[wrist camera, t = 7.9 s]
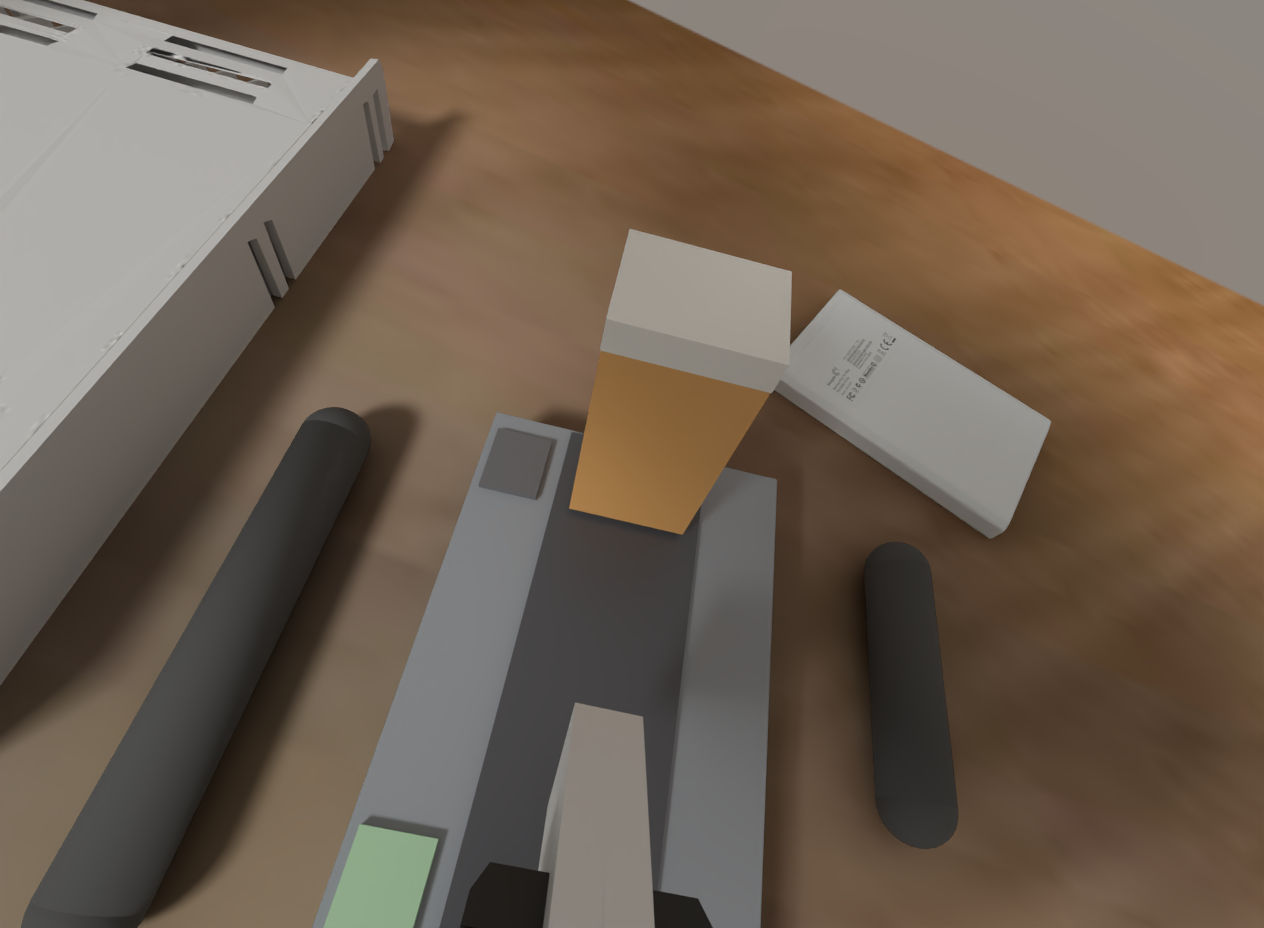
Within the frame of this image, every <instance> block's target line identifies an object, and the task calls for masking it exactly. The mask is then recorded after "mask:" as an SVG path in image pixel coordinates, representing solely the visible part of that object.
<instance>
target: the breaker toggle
mask: <svg viewBox="0 0 1264 928" xmlns="http://www.w3.org/2000/svg"><path fill="white" fill-rule="evenodd" d="M791 287H792V271H788V270H784V269H780V268H776V267H773V266H769V265H765V264H761V263H758V262H754V261H750V260H746V259H742V258H739V257H735V256H731V255H727V254H724V253H720V252H716V251H712V250H708V249H705V248H701V247H697V246H693V245H690V244H686V243H682V242H678V241H674V240H671V239H667V238H663V237H659V236H656V235H652V234H648V233H644V232H640V231H637V230H633V229H630V230H629V233H628V237H627V241H626V245H625V249H624V253H623V256H622V260H621V264H620V268H619V272H618V276H617V279H616V283H615V287H614V291H613V295H612V298H611V302H610V306H609V310H608V314H607V318H606V322H605V327H604V332H603V337H602V342H601V347H600V351H601V352H600V357H599V362H598V367H597V372H596V377H595V382H594V387H593V392H592V397H591V402H590V407H589V412H588V417H587V422H586V427H585V432H584V437H583V442H582V447H581V452H580V457H579V462H578V466H577V471H576V476H575V481H574V486H573V491H572V496H571V501H570V506H569V509H573V510H578V511H582V512H586V513H591V514H595V515H599V516H604V517H608V518H612V519H617V520H621V521H625V522H630V523H634V524H638V525H643V526H647V527H651V528H656V529H660V530H664V531H669V532H673V533H677V534H682V535H683V533H684V532H685V530H686V528H687V527H688V525H689V524H690V522H691V520H692V519H693V517H694V516H695V514H696V512H697V511H698V509H699V507H700V506H701V504H702V503H703V501H704V499H705V498H706V496H707V495H708V493H709V491H710V490H711V488H712V487H713V485H714V483H715V482H716V480H717V478H718V477H719V475H720V474H721V472H722V470H723V469H724V467H725V466H726V464H727V462H728V461H729V459H730V458H731V456H732V454H733V453H734V451H735V450H736V448H737V446H738V445H739V443H740V441H741V440H742V438H743V437H744V435H745V433H746V432H747V430H748V429H749V427H750V425H751V424H752V422H753V421H754V419H755V417H756V416H757V414H758V413H759V411H760V409H761V408H762V406H763V404H764V403H765V401H766V400H767V398H768V396H769V395H770V393H772V392H773V391H774V389H775V387H776V386H777V384H778V383H779V381H780V379H781V378H782V376H783V375H784V373H785V371H786V370H787V368H788V367H789V358H790V323H791Z"/></svg>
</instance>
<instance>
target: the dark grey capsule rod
mask: <svg viewBox="0 0 1264 928" xmlns="http://www.w3.org/2000/svg"><path fill="white" fill-rule="evenodd" d="M864 577H865V597H866V617H867V637H868V658H869V678H870V698H871V718H872V739H873V759H874V779H875V799H876V805H877V810H878V813H879V816H880V818H881V819H882V821H883V823H884V825H885V826H886V827H887V829H888V830H889V831H890V832H891V833H892V834H893V835H894V836H895V837H896V838H898V839H899V840H900V841H902V842H903V843H905V844H908V845H910V846H912V847H916V848H922V849H930V848H936V847H938V846H940V845H943V844H944V843H945V842H947V841H948V840H949V839H950V838H951V836H952V835H953V834H954V831H955V829H956V827H957V822H958V805H957V796H956V788H955V779H954V770H953V761H952V752H951V743H950V735H949V726H948V717H947V708H946V699H945V691H944V682H943V673H942V664H941V655H940V646H939V638H938V629H937V620H936V611H935V602H934V594H933V585H932V576H931V570H930V566H929V563H928V561H927V559H926V558H925V557H924V555H923V554H922V553H921V552H920V551H919V550H917V549H916V548H915V547H913V546H911V545H908V544H905V543H900V542H891V543H886V544H883V545H881V546H879V547H877V548H875V549H874V550H873V551H872V552H871V553H870V555H869V556H868V558H867V560H866V563H865V570H864Z"/></svg>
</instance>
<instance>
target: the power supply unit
mask: <svg viewBox="0 0 1264 928" xmlns="http://www.w3.org/2000/svg"><path fill="white" fill-rule="evenodd" d="M4 8H7V9H9V10H10V11H11V13H12V15H13V16H14V17H11V16H9V15H8V14H7V12H6V10H5V9H4ZM51 21H53V22H56V23H60V24H63V25H64V26H58V27H54V25H53V24H52V22H51ZM151 52H152V53H151ZM154 53H155V54H154ZM176 59H179V60H183V61H187V62H186V63H182V62H179V61H177V60H176ZM206 66H207V67H210V68H214V69H218V70H220V71H217V72H214V73H213V72H210V71H208V70H207V68H206ZM236 74H238V75H241V76H245V77H249V78H253V79H254V80H251V81H248V82H245V81H241V80H238V79H237V76H236ZM268 82H269V83H271V84H270V85H268ZM393 142H394V137H393V130H392V124H391V117H390V111H389V105H388V98H387V92H386V85H385V79H384V73H383V67H382V65H381V63H380V61H379V60H378V59H370V60H369V61H368V62H367V63H366V65H365V66H364V67H363V68H362V69H361V70H360V71H359V72H358V73H357V75H356V76H355V77H354V78H352V77H349V76H345V75H342V74H338V73H335V72H331V71H328V70H324V69H321V68H317V67H314V66H310V65H307V64H303V63H300V62H296V61H293V60H289V59H286V58H282V57H279V56H276V55H272V54H269V53H265V52H262V51H258V50H255V49H251V48H248V47H244V46H241V45H237V44H234V43H230V42H227V41H223V40H220V39H216V38H213V37H209V36H206V35H202V34H199V33H196V32H192V31H189V30H185V29H182V28H178V27H175V26H171V25H168V24H164V23H161V22H157V21H154V20H150V19H147V18H143V17H140V16H136V15H133V14H129V13H126V12H122V11H119V10H115V9H112V8H109V7H105V6H102V5H98V4H95V3H91V2H88V1H84V0H0V685H1V684H2V683H3V681H4V680H5V679H6V677H7V676H8V674H9V673H10V672H11V670H12V669H13V667H14V666H15V665H16V663H17V662H18V661H19V659H20V658H21V656H22V655H23V654H24V652H25V651H26V650H27V648H28V647H29V645H30V644H31V643H32V641H33V640H34V639H35V637H36V636H37V634H38V633H39V632H40V630H41V629H42V628H43V626H44V625H45V623H46V622H47V621H48V619H49V618H50V617H51V615H52V614H53V612H54V611H55V610H56V608H57V607H58V605H59V604H60V603H61V601H62V600H63V599H64V597H65V596H66V594H67V593H68V592H69V590H70V589H71V588H72V586H73V585H74V583H75V582H76V581H77V579H78V578H79V577H80V575H81V574H82V572H83V571H84V570H85V568H86V567H87V566H88V564H89V563H90V561H91V560H92V559H93V557H94V556H95V555H96V553H97V552H98V550H99V549H100V548H101V546H102V545H103V544H104V542H105V541H106V539H107V538H108V537H109V535H110V534H111V532H112V531H113V530H114V528H115V527H116V526H117V524H118V523H119V521H120V520H121V519H122V517H123V516H124V515H125V513H126V512H127V510H128V509H129V508H130V506H131V505H132V504H133V502H134V501H135V499H136V498H137V497H138V495H139V494H140V493H141V491H142V490H143V488H144V487H145V486H146V484H147V483H148V482H149V480H150V479H151V477H152V476H153V475H154V473H155V472H156V470H157V469H158V468H159V466H160V465H161V464H162V462H163V461H164V459H165V458H166V457H167V455H168V454H169V453H170V451H171V450H172V448H173V447H174V446H175V444H176V443H177V442H178V440H179V439H180V437H181V436H182V435H183V433H184V432H185V431H186V429H187V428H188V426H189V425H190V424H191V422H192V421H193V420H194V418H195V417H196V415H197V414H198V413H199V411H200V410H201V408H202V407H203V406H204V404H205V403H206V402H207V400H208V399H209V397H210V396H211V395H212V393H213V392H214V391H215V389H216V388H217V386H218V385H219V384H220V382H221V381H222V380H223V378H224V377H225V375H226V374H227V373H228V371H229V370H230V369H231V367H232V366H233V364H234V363H235V362H236V360H237V359H238V358H239V356H240V355H241V353H242V352H243V351H244V349H245V348H246V347H247V345H248V344H249V342H250V341H251V340H252V338H253V337H254V335H255V334H256V333H257V331H258V330H259V329H260V327H261V326H262V324H263V323H264V322H265V320H266V319H267V318H268V316H269V315H270V313H271V312H272V311H273V309H274V308H275V306H274V304H273V302H272V299H271V296H272V295H273V296H277V297H281V298H283V296H284V295H285V293H286V292H287V291H288V289H289V288H288V285H287V283H286V280H285V277H288V278H291V279H295V280H296V279H297V277H298V276H299V274H300V273H301V272H302V270H303V269H304V267H305V266H306V265H307V263H308V262H309V260H310V259H311V258H312V256H313V255H314V253H315V252H316V251H317V249H318V248H319V247H320V245H321V244H322V242H323V241H324V240H325V238H326V237H327V235H328V234H329V233H330V231H331V230H332V228H333V227H334V226H335V224H336V223H337V221H338V220H339V219H340V217H341V216H342V215H343V213H344V212H345V210H346V209H347V208H348V206H349V205H350V203H351V202H352V201H353V199H354V198H355V196H356V195H357V194H358V192H359V191H360V189H361V188H362V187H363V185H364V184H365V183H366V181H367V180H368V178H369V177H370V176H371V174H372V173H373V171H374V170H375V167H374V161H375V162H379V163H381V161H382V160H383V158H384V155H383V150H385V151H389V150H390V148H391V146H392V144H393Z"/></svg>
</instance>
